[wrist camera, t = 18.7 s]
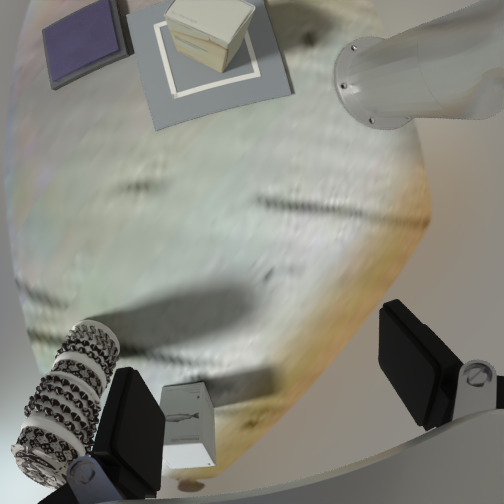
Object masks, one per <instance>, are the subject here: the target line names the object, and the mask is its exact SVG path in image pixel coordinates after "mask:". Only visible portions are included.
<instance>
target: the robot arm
mask: <svg viewBox="0 0 504 504" xmlns="http://www.w3.org/2000/svg"><path fill="white" fill-rule="evenodd" d="M351 48H352V49H353V50H352V49H351ZM334 83H335V87H336V91H337V94H338V96H339V99H340V100H341V102H342V104H343V106H344V107H345V108H346V110H347V111H348V112H349V113H350V114H351V115H352V116H353V117H354V118H355V119H356V120H357V121H359V122H361V123H362V124H364V125H366V126H368V127H371V128H374V129H380V130H391V129H397V128H399V127H402V126H403V125H405V124H406V123H408V122H409V121H410V120H411V119H412V118H449V119H467V120H483V119H488V118H490V117H492V116H494V115H496V114H498V113H499V112H500V111H501V110H502V109H503V108H504V0H480V1H479V2H476V3H474V4H472V5H470V6H468V7H465V8H463V9H461V10H458V11H456V12H453V13H450V14H448V15H445V16H442V17H440V18H437V19H434V20H432V21H430V22H427V23H424V24H421V25H419V26H416V27H414V28H412V29H409V30H407V31H404V32H402V33H399V34H397V35H395V36H393V37H390V38H388V39H386V40H385V39H381V38H378V37H364V38H360V39H357V40H354V41H353V42H351V43H349V44H348V45H347V46H346V47H345V48H343V49H342V51H341V52H340V54H339V55H338V58H337V60H336V63H335V68H334ZM341 85H342V86H343V89H342V88H341ZM369 119H370V122H369ZM378 361H379V365H380V367H381V369H382V371H383V372H384V374H385V375H386V376H387V378H388V379H389V381H390V383H391V384H392V386H393V387H394V389H395V390H396V392H397V394H398V395H399V397H400V398H401V400H402V401H403V403H404V404H405V406H406V407H407V409H408V411H409V412H410V414H411V415H412V417H413V419H414V420H415V422H416V423H417V425H418V426H423V427H424V429H425V430H426V431H428V430H430V429H432V428H434V427H436V428H435V429H433V430H431V431H429V432H427V433H425V434H423V435H421V436H419V437H416V438H414V439H412V440H410V441H408V442H406V443H403V444H401V445H398V446H396V447H394V448H391V449H389V450H387V451H384V452H382V453H379V454H377V455H374V456H372V457H369V458H366V459H363V460H361V461H358V462H355V463H352V464H349V465H347V466H343V467H340V468H337V469H334V470H331V471H328V472H324V473H321V474H317V475H314V476H310V477H306V478H303V479H299V480H295V481H291V482H286V483H282V484H278V485H273V486H268V487H263V488H258V489H252V490H246V491H241V492H234V493H227V494H219V495H211V496H200V497H188V498H172V499H145V498H156V494H157V491H159V490H160V487H161V472H162V458H163V445H164V434H165V423H166V419H165V415H164V413H163V411H162V410H161V408H160V407H159V405H158V403H157V402H156V400H155V399H154V397H153V395H152V394H151V392H150V390H149V389H148V387H147V385H146V384H145V382H144V380H143V379H142V377H141V375H140V374H139V372H138V371H137V370H134V369H133V368H132V367H125V368H118V369H117V370H116V372H115V375H114V378H113V381H112V384H111V387H110V391H109V394H108V397H107V401H106V404H105V406H104V409H103V412H102V416H101V419H100V423H99V426H98V430H97V434H96V437H95V441H94V445H93V449H92V453H91V457H89V456H82V457H79V458H77V459H75V460H74V461H72V462H71V464H70V465H69V466H68V469H67V471H66V478H67V481H68V482H67V483H65V484H64V485H62V486H61V487H60V488H58V489H57V490H56V491H54V492H53V493H51V494H50V495H48V496H47V497H46V498H44V499H43V500H41V501H40V502H39V503H38V504H504V376H497V375H496V370H495V369H494V367H493V366H492V365H491V364H490V363H488V362H486V361H483V360H471V361H469V362H467V363H465V364H463V363H462V362H461V361H460V359H459V358H458V357H457V356H456V355H455V354H454V353H453V352H452V351H451V350H450V349H449V348H448V347H447V346H446V345H445V343H444V342H443V341H442V340H441V339H440V338H439V337H438V336H437V335H436V334H435V333H434V332H433V331H432V330H431V329H430V328H429V327H428V326H427V325H425V324H423V323H421V322H420V320H419V319H418V318H417V317H416V316H415V315H414V314H413V313H412V312H411V311H410V310H409V309H407V307H406V306H405V305H404V304H402V302H401V301H400V300H398V299H395V300H392V301H389V302H386V303H384V304H383V308H381V309H380V311H379V356H378Z"/></svg>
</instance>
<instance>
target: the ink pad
mask: <svg viewBox="0 0 504 504" xmlns="http://www.w3.org/2000/svg"><path fill="white" fill-rule="evenodd" d="M42 34H43V42H44V49H45V56H46V62H47V68H48V73H49V79H50V84H51V89H52V90H57V89H59V88H61V87H63V86H65V85H67V84H69V83H70V82H72V81H74V80H76V79H78V78H80V77H82V76H85V75H87V74H89V73H91V72H93V71H95V70H97V69H100V68H102V67H104V66H106V65H109V64H111V63H113V62H116V61H118V60H121V59H123V58H126V57H128V56H129V51H128V47H127V43H126V39H125V34H124V30H123V25H122V21H121V16H120V11H119V6H118V1H117V0H99V1H97V2H94V3H92V4H90V5H88V6H86V7H84V8H82V9H80V10H78V11H76V12H74V13H72V14H70V15H68V16H66V17H64V18H62V19H60V20H59V21H57V22H55V23H53V24H52V25H50V26H48V27H46V28H45V29H43V30H42Z"/></svg>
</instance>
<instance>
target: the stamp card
mask: <svg viewBox="0 0 504 504" xmlns="http://www.w3.org/2000/svg"><path fill="white" fill-rule="evenodd" d="M172 1H173V0H168V1H165V2H162V3H158V4H155V5H152V6H149V7H146V8H143V9H141V10H138V11H135V12H132V13H130V14H127V15H126V17H127V22H128V26H129V31H130V35H131V39H132V43H133V48H134V52H135V56H136V60H137V64H138V68H139V72H140V76H141V80H142V84H143V87H144V91H145V95H146V99H147V102H148V106H149V110H150V113H151V117H152V120H153V124H154V127H155V131H158V130H160V129H163V128H166V127H169V126H172V125H176V124H179V123H182V122H185V121H188V120H192V119H195V118H198V117H202V116H205V115H209V114H212V113H216V112H219V111H223V110H227V109H231V108H235V107H239V106H243V105H247V104H251V103H255V102H260V101H264V100H269V99H274V98H279V97H284V96H289V95H291V91H290V87H289V83H288V80H287V76H286V73H285V69H284V66H283V62H282V59H281V55H280V52H279V48H278V45H277V42H276V39H275V35H274V32H273V29H272V26H271V23H270V19H269V16H268V13H267V10H266V7H265V4H264V1H263V0H244V1H246V2H248V3H250V4H252V5H254V6H255V8H256V9H255V11H254V13H253V16H252V18H251V21H250V23H249V26H248V28H247V31H246V33H245V36H244V38H243V41H242V44H241V46H240V48H239V50H238V51H237V53H236V54H235V55H234V57H233V58H232V60H231V61H230V63H229V64H228V66H227V67H226V68H225V70H224V71H223V73H220V72H218V71H216V70H214V69H212V68H210V67H208V66H206V65H204V64H202V63H200V62H198V61H196V60H194V59H192V58H190V57H188V56H186V55H184V54H182V53H179V52H178V51H177V49H176V47H175V44H174V41H173V39H172V36H171V33H170V30H169V28H168V25H167V22H166V19H165V17H164V13H165V11H166V10H167V8H168V7H169V5H170V4H171V3H172Z"/></svg>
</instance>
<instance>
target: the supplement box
mask: <svg viewBox="0 0 504 504" xmlns="http://www.w3.org/2000/svg"><path fill="white" fill-rule="evenodd" d="M159 407H160V408H161V410H162V411H163V413H164V415H165V419H166V423H165V434H164V445H163V459H164V460H165V462H166V463H167V465H168V466H169V467H170V468H171V469H177V468H195V467H207V466H216V450H215V422H214V407H213V404H212V402H211V399H210V397H209V394H208V392H207V389H206V386H205V384H204V382H200V383H194V384H187V385H179V386H168V387H162V392H161V399H160V406H159Z"/></svg>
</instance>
